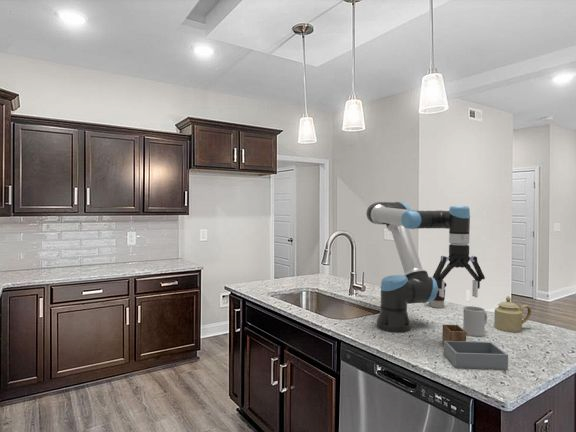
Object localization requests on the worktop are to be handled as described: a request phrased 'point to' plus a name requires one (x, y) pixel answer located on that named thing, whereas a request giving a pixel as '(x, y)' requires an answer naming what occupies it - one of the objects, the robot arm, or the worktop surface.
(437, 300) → the coffee cup
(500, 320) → the beige teapot
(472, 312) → the mug
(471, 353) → the grey crate
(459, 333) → the walnut crate
